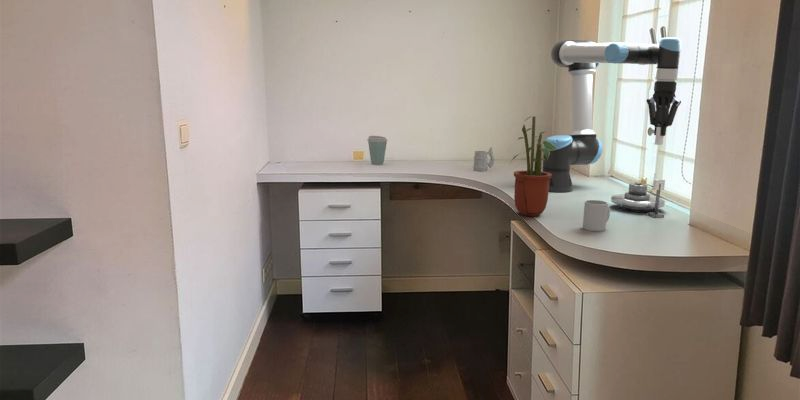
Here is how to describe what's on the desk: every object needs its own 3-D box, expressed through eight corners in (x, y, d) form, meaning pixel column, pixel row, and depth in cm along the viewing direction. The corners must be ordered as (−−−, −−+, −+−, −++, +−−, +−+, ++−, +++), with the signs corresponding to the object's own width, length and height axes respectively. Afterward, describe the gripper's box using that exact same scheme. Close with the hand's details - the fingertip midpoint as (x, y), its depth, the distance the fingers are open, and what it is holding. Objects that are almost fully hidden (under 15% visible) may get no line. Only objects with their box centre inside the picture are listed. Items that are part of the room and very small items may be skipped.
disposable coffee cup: (390, 164, 334) (391, 136, 332) (379, 166, 326) (379, 137, 323) (374, 162, 340) (375, 135, 337) (363, 164, 331) (363, 136, 328)
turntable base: (631, 212, 227) (631, 206, 226) (615, 205, 237) (616, 200, 237) (658, 211, 228) (658, 206, 228) (641, 205, 239) (642, 200, 239)
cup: (577, 227, 201) (579, 201, 199) (599, 224, 206) (601, 198, 204) (594, 232, 195) (597, 205, 193) (616, 229, 200) (618, 202, 198)
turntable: (659, 210, 220) (661, 187, 218) (605, 203, 229) (607, 181, 228) (668, 202, 235) (671, 180, 234) (617, 196, 245) (619, 175, 244)
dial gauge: (653, 217, 218) (657, 180, 216) (644, 213, 224) (648, 178, 222) (664, 217, 219) (668, 180, 217) (654, 213, 225) (658, 178, 222)
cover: (646, 202, 226) (648, 186, 225) (621, 199, 231) (623, 183, 230) (652, 198, 233) (653, 183, 232) (627, 195, 238) (629, 180, 237)
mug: (470, 169, 321) (471, 146, 319) (489, 168, 326) (490, 146, 323) (477, 171, 314) (478, 148, 312) (497, 171, 319) (498, 148, 316)
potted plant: (541, 220, 210) (548, 117, 203) (499, 214, 218) (504, 115, 211) (557, 211, 224) (564, 115, 217) (517, 206, 232) (523, 113, 225)
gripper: (688, 81, 223) (680, 145, 228) (655, 80, 234) (649, 142, 238) (676, 81, 219) (668, 146, 224) (644, 80, 229) (637, 142, 234)
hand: (658, 144), depth 231 cm, fingers closed
